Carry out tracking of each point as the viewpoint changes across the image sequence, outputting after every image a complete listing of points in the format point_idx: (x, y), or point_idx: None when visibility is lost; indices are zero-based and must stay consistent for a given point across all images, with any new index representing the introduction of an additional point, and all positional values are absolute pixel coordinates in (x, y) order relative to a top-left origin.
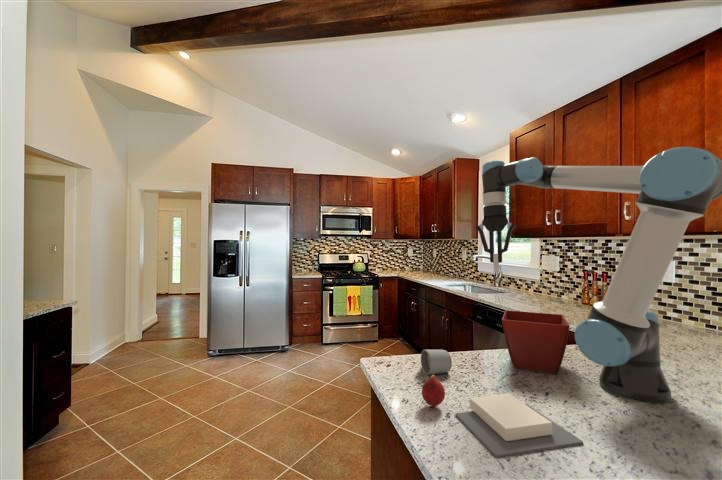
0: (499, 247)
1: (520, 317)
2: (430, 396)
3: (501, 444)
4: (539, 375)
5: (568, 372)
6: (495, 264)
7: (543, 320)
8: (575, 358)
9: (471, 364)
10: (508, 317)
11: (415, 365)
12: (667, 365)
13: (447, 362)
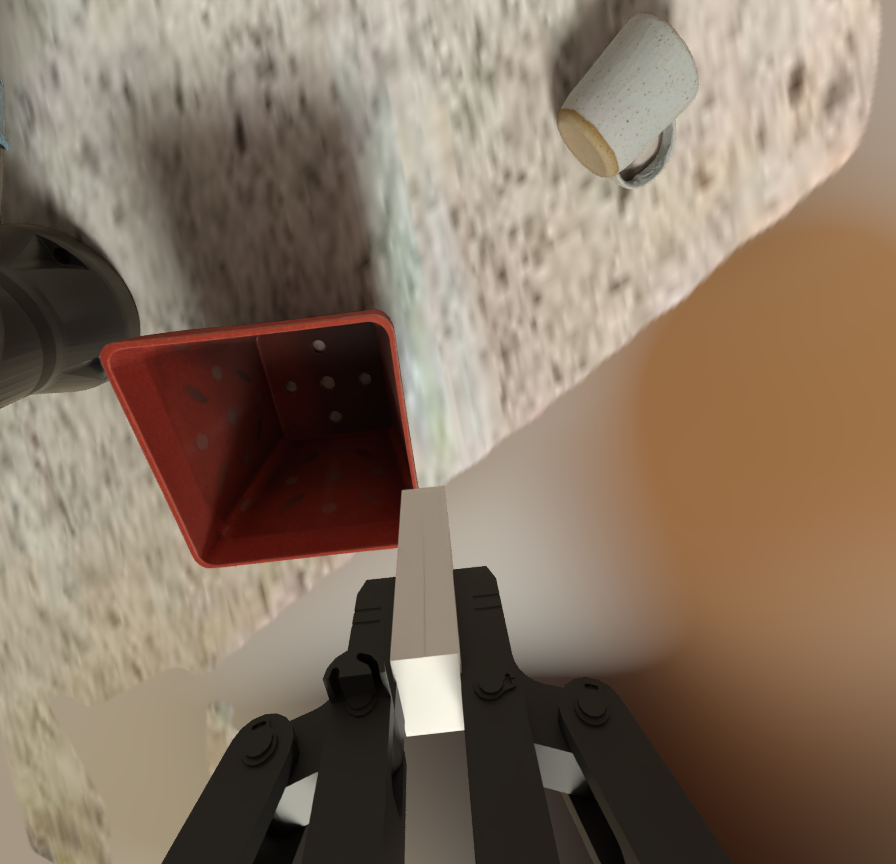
0: (349, 787)
1: (366, 529)
2: None
3: None
4: (296, 297)
5: None
6: (428, 539)
7: (280, 536)
8: None
9: (505, 280)
10: None
11: (692, 149)
12: (47, 564)
13: (574, 90)
